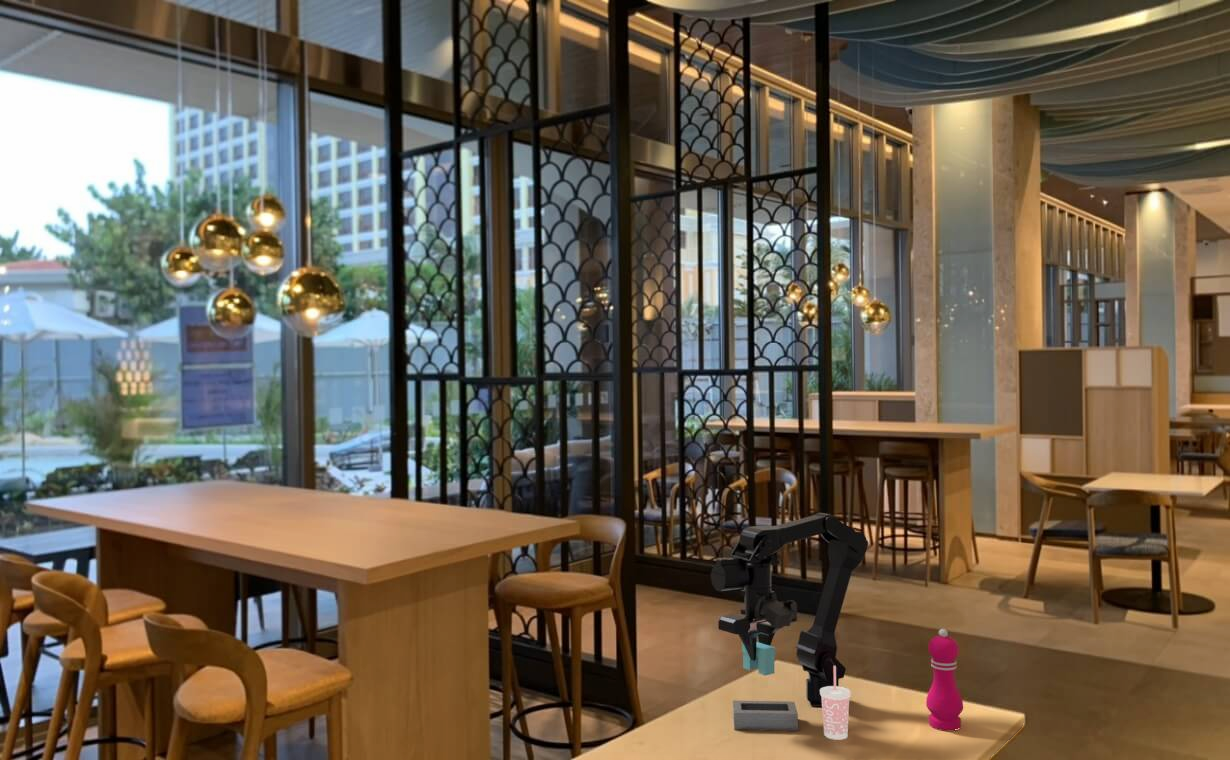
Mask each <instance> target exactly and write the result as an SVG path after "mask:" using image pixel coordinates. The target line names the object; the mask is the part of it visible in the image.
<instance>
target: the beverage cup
mask: <svg viewBox="0 0 1230 760" xmlns="http://www.w3.org/2000/svg"><path fill="white" fill-rule="evenodd" d="M833 668H834V686H827V687H823V688H821V689H820V695H821V699H822V706H821V707H822V708H821V709H822V711H821V712H822V721H823V722H822V724H823V735H824V736H826V737H825V738H827V739H830V740H836V741H837V740H838V741H841V740H846V739H847V738H848V736H849V735H848V731H849V709H850V698H851V690H850V689H849V688H846V687H842V686H839V687H838V686H836V666H833Z"/></svg>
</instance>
